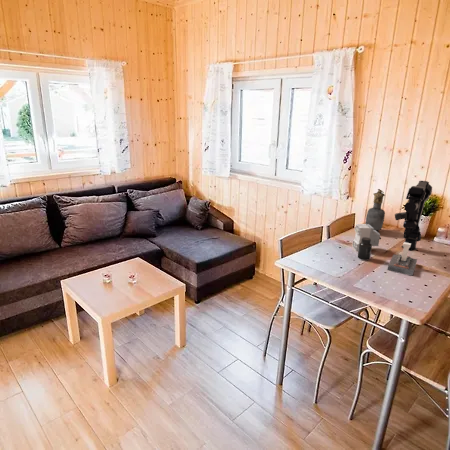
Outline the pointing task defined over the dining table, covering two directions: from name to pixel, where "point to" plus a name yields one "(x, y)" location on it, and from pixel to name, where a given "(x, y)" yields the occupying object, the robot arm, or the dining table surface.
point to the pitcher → (376, 212)
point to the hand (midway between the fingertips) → (407, 235)
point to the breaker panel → (402, 265)
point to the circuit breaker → (365, 235)
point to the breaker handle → (405, 251)
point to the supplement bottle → (365, 249)
